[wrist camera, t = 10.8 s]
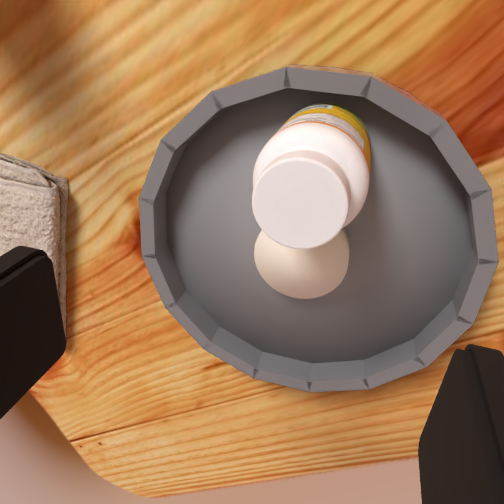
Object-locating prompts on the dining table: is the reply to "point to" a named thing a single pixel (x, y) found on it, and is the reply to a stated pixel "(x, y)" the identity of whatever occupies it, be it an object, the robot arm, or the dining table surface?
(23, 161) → the washcloth
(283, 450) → the dining table surface
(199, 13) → the dining table surface
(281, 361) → the ring tray
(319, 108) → the supplement bottle
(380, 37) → the dining table surface
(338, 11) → the dining table surface
